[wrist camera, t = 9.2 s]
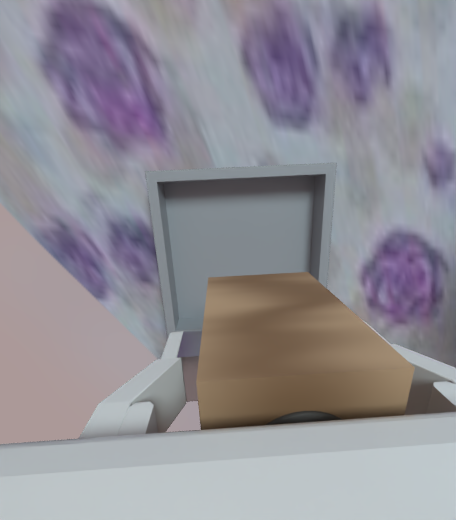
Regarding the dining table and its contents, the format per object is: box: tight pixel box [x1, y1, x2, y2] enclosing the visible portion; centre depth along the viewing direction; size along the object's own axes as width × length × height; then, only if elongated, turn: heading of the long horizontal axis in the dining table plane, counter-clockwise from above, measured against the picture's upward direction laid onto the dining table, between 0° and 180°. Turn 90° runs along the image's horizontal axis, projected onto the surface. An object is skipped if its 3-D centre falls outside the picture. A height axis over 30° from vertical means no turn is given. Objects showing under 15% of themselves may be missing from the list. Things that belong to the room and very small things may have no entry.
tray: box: [145, 163, 337, 337], centre depth 22 cm, size 15×15×3 cm
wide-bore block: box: [196, 272, 415, 430], centre depth 8 cm, size 4×4×6 cm
